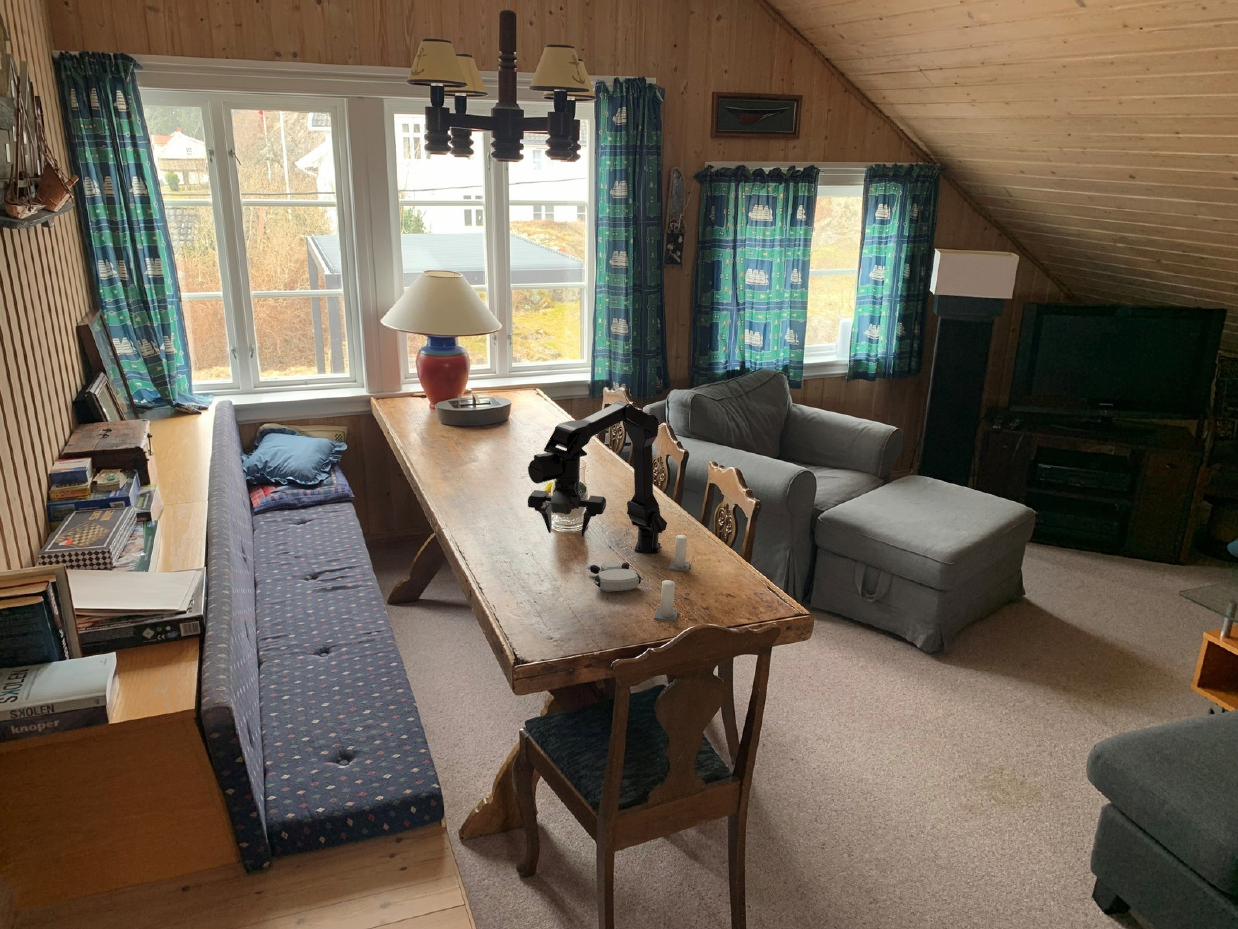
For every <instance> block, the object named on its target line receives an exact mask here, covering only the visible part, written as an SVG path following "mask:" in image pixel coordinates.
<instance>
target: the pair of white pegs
mask: <svg viewBox="0 0 1238 929" xmlns="http://www.w3.org/2000/svg"><path fill="white" fill-rule="evenodd" d="M687 547H688V537H687V536H686V535H684V534H678V535H676V536H675V542H674V557H673V558H674V559H673V560H672V559H671V561H670V564H669V567H668V571H672V572H674V571H675V572H681V573H688V572H689V569H690V565H691V562H689V561H686V560H687ZM675 587H676V583H675V581H673V580H669V579H664V580H662V581H661V591H660V592H661V594H660V607H657V608H656V611H655V614H654V618H653V619H654V621H661V622H669V623H676V622H677V618H678V615H679V610H678V609H674V602H675V590H676V588H675Z"/></svg>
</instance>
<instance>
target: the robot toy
mask: <svg viewBox="0 0 1238 929" xmlns="http://www.w3.org/2000/svg"><path fill="white" fill-rule="evenodd" d="M630 565H631V564H630V563H629V562H623V563H622V564H620V562H619V561H614V560H613V561H611V560H609V561H603V562H602V563H601V565H600V566H598V565H596V564H591V565H587V566H586V569H588V570H589V571H590V573H592V574H594V575H596V576H595V577H594V579H593V582H592V583H593V584H595V585H596V586H597V588H600V590H603V591H604V592H606V593H611V592H623V591H626V592H627V591H631V590H634V589H636V588H638V586H639V585H640V584H641V583H642V580H643V581H644V582H645V581H646V578H643V577H642V576H640V574H639V573H638V572H636V571H635V570H633V569H630Z"/></svg>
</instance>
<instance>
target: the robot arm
mask: <svg viewBox="0 0 1238 929" xmlns="http://www.w3.org/2000/svg"><path fill="white" fill-rule="evenodd" d="M621 422H623V423H624V424H625V427H626V433H627V436H628V438H629V440H630V441H631V443H632V445H633V449H632V450H633V477H634V478H633V480H634V481H633V482H634V485H633V486H634V494H633V496H632V497H631V499H630V500H627V501H626V505H627V506H626V507H627V512H626V515H628V518H629V519H630V522H631V525H632V526H635V527H637V541H636V545H635V547H634V552H640V553H649V554H659V550H660V549H661V543H660V542H659V536H660V535H659V534H662V533H663V532H664V531H666V529H667V525H668V522H667V521H666V520H665V519H664V518H663V516H661V511H660V510H661V509H660V505H659V501H658V500H657V498H656V496H655V494H654V476H653V473H654V470H653V468H654V467H653V444H654V443H655V441H656V439H657V437H658V435H659V426H660V421H659V417H657V416H656V415H654V414H652V413H648V412H645V411H643V410H641V409H639V408H637V407H635V406H634V405H633V404H631V403H629V402H625V401H622V400H617V401H615V402H614V403H612V404H611V405H609V406H607V407H605V408H603V409H601V410H599V411H597V412H595V413H593V414H591V415H589V416H587V417H585V418H583V419H582V418H581V419H579V420H569V421H564V422H561V423H558V424H557V425H556V426H555V427H554V430H553V432H552V434H551V436H550V438H549V439H548V441H547V443H546V444H545V446H544V448H543V452H545V453H537V454H534V455H533V459H532V460H531V461H530V462H529V464H528V466H527V472H528V476H529V478H530V480H531V481H532V482H533V483H534V484H536V485H537V484H538V485H539V484H542V483H546V482H549V481H554V480H555V484H554V489H553V492H552V495H550V494H549V491H548V490H538V489H535V490H533V491H532V492H531V493H530V494H529V496H528V499H527V507H528V508H531V509H534V511H536V512H539V514H540V515H541V516H542V518H543V521H544V524H545V526H546V527H545V528H546V529H547V531H548V534H550V533H552V525H553V524H552V523H553V522H552V518H553V517H552V514H564V515H569V514H571V513H572V510H575V509H577V510H579V509H580V508H585V511H584V512H583V521H582V526H581V527H582V528H581V537H584V536H585V533H586V530H587V529H588V525H589V523H590V520H591V518H593V517H596V516H597V515H603V514H604V512H605V510H606V507H607V499H606V497H605V496H601V495H600V496H599V495H590V496H589V498H588V499H585V498H584V499H583V498H581V495H580V480H581V478H580V477H581V476H580V474H581V472H580V471H581V468H580V467H581V458H582V457H587V455H588V452H586V451H585V450H584V449H583V448H584V447H585V446H587V445H589V443H590V441H591V439H592V438H593V437H594V436H596V435H598V434H599V433H602V432H603V431H606V430H607V429H610V428H612V427H613V426H616V425H618V424H619V423H621ZM557 446H558V447H557ZM559 447H560V448H559ZM562 448H563V449H562Z"/></svg>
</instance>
